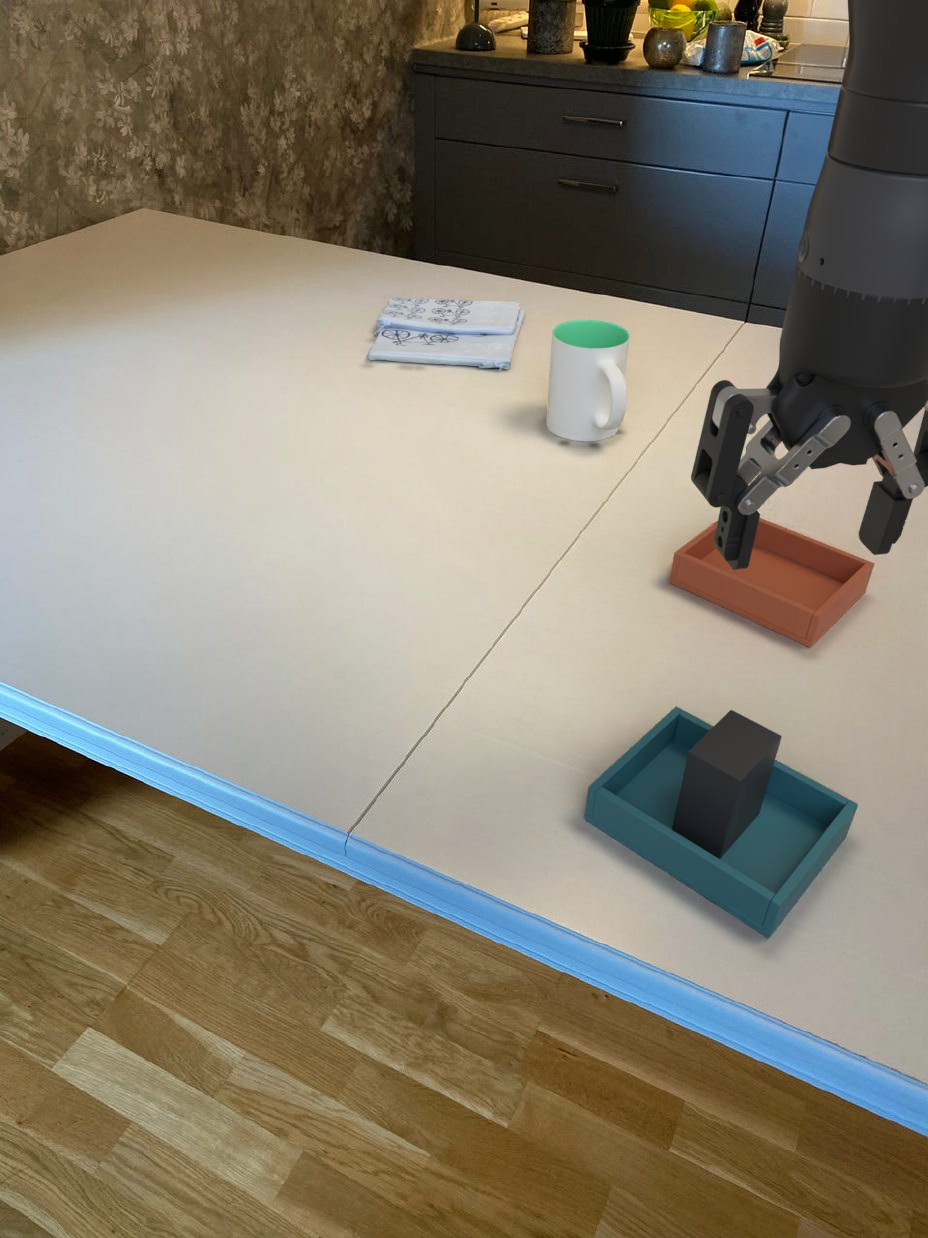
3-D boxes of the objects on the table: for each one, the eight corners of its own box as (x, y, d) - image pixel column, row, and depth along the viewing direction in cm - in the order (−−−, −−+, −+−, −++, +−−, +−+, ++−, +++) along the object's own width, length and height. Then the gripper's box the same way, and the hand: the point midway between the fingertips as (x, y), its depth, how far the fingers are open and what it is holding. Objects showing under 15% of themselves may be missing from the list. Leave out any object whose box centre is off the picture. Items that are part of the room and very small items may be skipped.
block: (759, 814, 63) (782, 735, 59) (719, 860, 60) (740, 781, 56) (712, 786, 65) (730, 708, 60) (671, 830, 62) (687, 751, 57)
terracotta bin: (865, 593, 84) (875, 563, 82) (810, 648, 77) (819, 617, 76) (728, 536, 90) (734, 507, 89) (668, 582, 84) (673, 552, 83)
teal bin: (846, 837, 62) (859, 804, 60) (769, 939, 56) (780, 906, 54) (669, 738, 69) (676, 705, 67) (583, 819, 63) (588, 786, 61)
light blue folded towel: (525, 315, 135) (526, 299, 134) (510, 373, 119) (510, 356, 118) (390, 306, 137) (390, 291, 136) (357, 363, 121) (356, 346, 120)
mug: (651, 449, 104) (664, 356, 98) (584, 463, 101) (593, 367, 95) (597, 404, 113) (606, 315, 106) (534, 415, 110) (539, 325, 104)
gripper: (775, 299, 41) (711, 607, 51) (1070, 281, 44) (955, 579, 54) (706, 246, 47) (661, 531, 57) (970, 233, 50) (883, 509, 59)
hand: (803, 554), depth 55 cm, fingers open, 8 cm apart
